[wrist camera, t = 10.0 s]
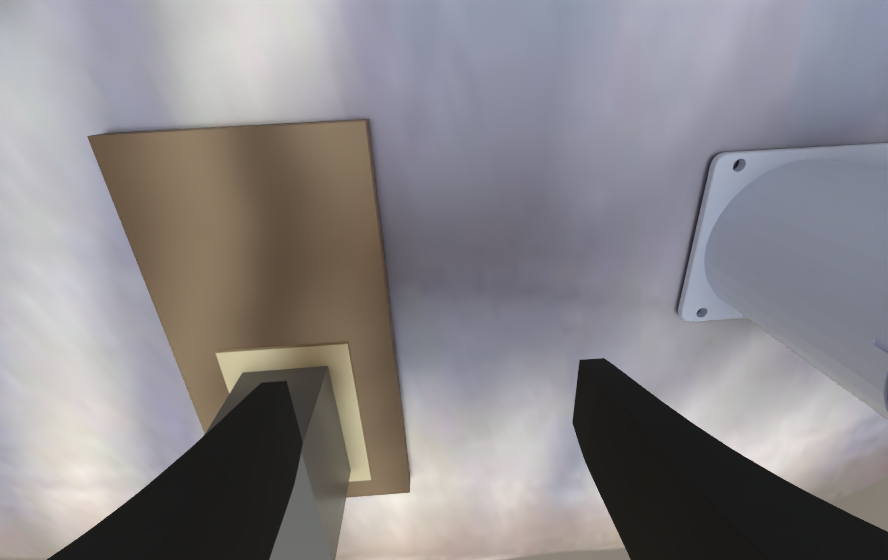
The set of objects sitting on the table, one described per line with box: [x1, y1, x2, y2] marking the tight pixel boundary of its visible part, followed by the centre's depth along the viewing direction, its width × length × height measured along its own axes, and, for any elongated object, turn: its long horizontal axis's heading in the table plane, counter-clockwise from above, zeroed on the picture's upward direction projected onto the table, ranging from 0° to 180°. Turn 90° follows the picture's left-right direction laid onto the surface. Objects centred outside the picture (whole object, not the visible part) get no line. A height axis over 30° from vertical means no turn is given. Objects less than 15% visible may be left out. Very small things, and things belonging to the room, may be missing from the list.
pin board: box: [87, 119, 410, 497], centre depth 19 cm, size 10×20×3 cm, turn 3°
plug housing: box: [205, 366, 351, 560], centre depth 19 cm, size 4×7×5 cm, turn 3°
